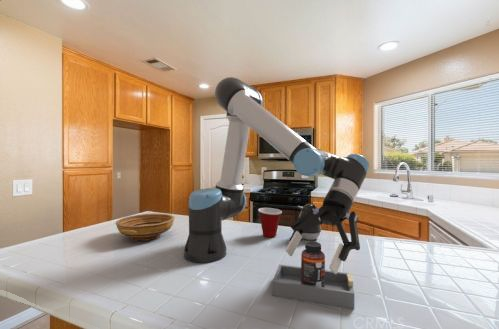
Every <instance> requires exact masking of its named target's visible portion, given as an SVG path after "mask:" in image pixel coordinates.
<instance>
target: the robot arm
mask: <svg viewBox="0 0 499 329" xmlns="http://www.w3.org/2000/svg"><path fill="white" fill-rule="evenodd" d="M214 97H215V101H216V103H217V105H219V107H220V108H222V109H223V110H224V111H225V112H226V114H225V115H226V116H225V117H226V118H227V120H228V128H227V136H226V142H225V147H224V152H223V153H224V155H223V158H222V159H223V160H222V167H221V173H220V180H218V181H217V182H216V183H215V187H208V188H200V189H197V190H194V191H192V192H191V193H190V195H189V198H188V204H187V205H188V236H187V239H186V241H185V242H186V243H185V245H184V249H183V258H184V259H185V260H186V261H189V262H192V263H203V264H205V263H212V262H217V261H219V260H222V259H223V258H225V257H226V255H227V246H226V242H225V239H224V236H223V233H222V232H223V231H222V230H223V229H222V224H223V223H222V221H225V220H227V219H231V218H234V217H237V216H238V215H240V214H241V213H243V212H244V210H245V208H246V205H247V196H246V194H245V191H244V190H245V189H244V186H243V184H242V179H243V173H244V167H245V161H246V160H245V159H246V155H247V150H248V141H249V137H250V130H253V131H254V132H255V133H256V134H257V135H258V136H260V137H261V138H263V139H264V141H266V142H267V143H268V144H269V145H270V146H272V148H274V149H275V150H276V151H278V153H280V154H281V155H282V156H284V158H286V159H287V160H288V161H289V162H290V163H291V164H292V165H293V168H295V170H296V172H297V173H298V174H300V175H301V176H302V175H303V176H305V177H315V176H318V175H322V176H324V177H328V178H329V179H332V180H333V181H332V184H331V185H330V187H329V189H328V192H327V193H326V195H325V197H324V199H323V202H322V204H321V206H320V207H317V206H316V204H312V206H311V207H310V209H309V210H308V211H307V212H306V213H304V214H303V215H302V216H301V217H300V218H299V217H298V218H297V219H296V220H295V221H293V223H291V224H290V228H291V230H292V231H293V232H292V233H291V236H290V237H289V240H288V241H289V243H288V245H287V247H286V248H285V249H284V250H285V252H286V253H287V255H288V256H290V257H292V256H293V255H294V253H295V252H296V250H297V248H298V246H299V244H300V242H301V240H302V239H303V238H302V236H301V234H303V233H305V232H306V231H308V230H310V229H312V228H313V227H315V226H317V225H323V224H324V225H326V226H328V225H329V226H331V227H335V226H336V227H337V230H338V233H339V235H340V236H339V237H340V239H341V240H342V243H343V244H342V243H339V244H338V246H337V248H336V251H335V253H334V255H333V257H332V259H331V262H330V264H329V266H328V268H329V269H330V270H329V271H332V272H333V273H334V274H337V272H339V269H340V266H341V265H342V262H346V261H347V259H348V257H349V254H350V252H351V251H352V250H356V251H360V250H361V245H360V244H361V243H360V237H359V229H358V220H359V217H358V215H357V214H356V211H350V210H352V209H351V208H352V207H353V204H354V201H355V200H356V197H357V195H358V193H359V191H360V189H361V187H362V185H363V183H364V181H365V180H366V179H365V178H366V177H367V175H368V171H369V168H370V162H369V160H368V159H367V158H366V157H365V156H364V155H361V154H359V153H350V154H348V155H347V156H346V157H342V156H339V155H336V154H333V153H331V152H328V151H325V150H322V149H319V148H316V147H314V146H313V145H312V144H310V143H309V141H307V140H306V139H304V137H302V136H300V135H299V134H298V133H296V132H295V131H294V130H292V129H291V128H290V127H289V126H288V125H286V124H285V123H284V122H282V121H281V120H280V119H279V118H277V117H276V116H275V115H274V114H272V113H271V112H270V111H268V110H267V109H266V108H264V107H263V104H264V103H263V102H264V101H263V100H264V99H263V97H262V95H261V93H260V91H258V90H257V88H256V87H254V86H251V85H249V84H248V83H246V82H244V81H242V80H241V79H239V78H236V77H234V76H233V77H232V76H230V77H225V78H223V79H221V80H220V81H219V82H218V83H217V85H216V87H215V91H214ZM318 218H319V219H320V220H319V219H318ZM345 220H348V223H349V224H348V225H349V232H350V240H349V238H348V235H347V232H346V230H345V228H344V225H343V222H344V221H345ZM300 229H301V230H300Z"/></svg>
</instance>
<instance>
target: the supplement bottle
mask: <svg viewBox="0 0 499 329" xmlns="http://www.w3.org/2000/svg"><path fill="white" fill-rule="evenodd" d="M304 245H305V246H304V248H305V249H303V250H302V251H301V256H300V259H301V261H300V264H301V266H300V267H301V284H304V285H311V286H318V287H324V285H325V269H326V264H325V263H326V258H325V257H326V256H325V253H324V252H323V251H322V244H321V242H319V241H314V240H309V241H306V242H305V243H304Z"/></svg>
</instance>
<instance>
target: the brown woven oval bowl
mask: <svg viewBox="0 0 499 329" xmlns="http://www.w3.org/2000/svg"><path fill="white" fill-rule="evenodd" d="M175 218H176V217H175V216H174V215H172V214H168V213H143V214H135V215H130V216H129V215H128V216H126V217H122V218H120V219H117V220H116V221H115V225H116V229H117V230H118V232H119V233H120V234H121V235H122V236H125V237H129V238H131V239H132V240H134V239H135V240H134V241H137V240H146V241H151V240H150V239H152V240H155V239H157V237H158V236H159V235H160V236H161V235H162V234H164V233H165V232H167V231H169V230H170V229H171V228H172V227H173V225H174V220H175ZM160 236H159V237H160ZM159 237H158V238H159ZM154 238H155V239H154Z"/></svg>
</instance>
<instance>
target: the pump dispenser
mask: <svg viewBox="0 0 499 329" xmlns="http://www.w3.org/2000/svg"><path fill="white" fill-rule="evenodd" d="M312 205H313V203H306V204H304V205H303V206H300V205H297V209H298V210H301V211H300V213H299V215H298V218H300V217H301V216H302V215H303V214H304V213H306V212H307V211H308V210H309V209H310V207H311V206H312ZM318 219H319V220H321V219H320V217H319V218H318ZM321 225H322V224H321ZM321 225H317V226H315V227H313V228H312V229H310V230H308V231H306V232H305V233H303V234H301V236H302V238H301V239H304V240H307V241H314V240H317V239H318V238H319V237H320V234H321V232H322V226H321ZM300 230H301V229H300Z"/></svg>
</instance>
